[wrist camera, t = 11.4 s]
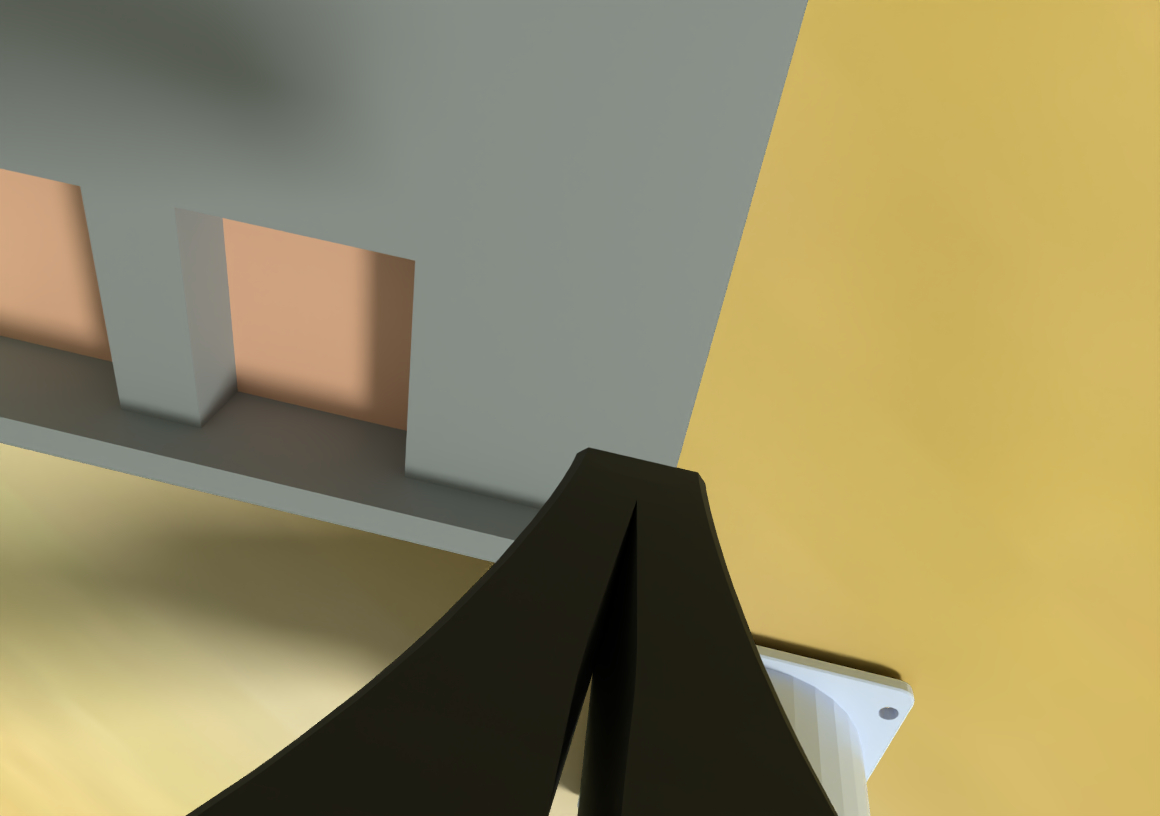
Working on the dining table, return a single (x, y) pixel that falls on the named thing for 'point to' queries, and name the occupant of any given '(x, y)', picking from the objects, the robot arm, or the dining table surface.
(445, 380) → the box
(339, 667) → the dining table surface
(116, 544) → the dining table surface
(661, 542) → the robot arm
